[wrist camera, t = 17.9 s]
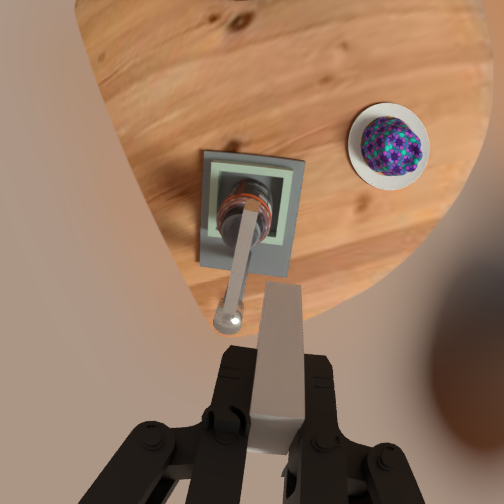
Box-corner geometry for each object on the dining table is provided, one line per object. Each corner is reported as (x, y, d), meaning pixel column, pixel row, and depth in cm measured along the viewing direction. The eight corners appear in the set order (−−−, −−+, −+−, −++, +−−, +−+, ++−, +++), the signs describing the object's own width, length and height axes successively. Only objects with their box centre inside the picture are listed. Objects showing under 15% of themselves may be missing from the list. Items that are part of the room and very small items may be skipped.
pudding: (436, 124, 33) (455, 127, 29) (410, 200, 39) (425, 212, 34) (361, 89, 33) (372, 86, 28) (335, 172, 38) (342, 181, 34)
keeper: (241, 318, 33) (238, 337, 30) (216, 313, 33) (211, 330, 30) (269, 203, 27) (268, 214, 24) (238, 196, 27) (233, 207, 24)
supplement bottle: (224, 214, 41) (204, 251, 31) (233, 173, 39) (215, 197, 28) (267, 225, 41) (261, 266, 31) (278, 184, 39) (276, 212, 29)
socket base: (205, 150, 38) (172, 169, 27) (304, 160, 38) (315, 184, 26) (201, 263, 46) (175, 316, 34) (286, 274, 46) (286, 332, 34)
